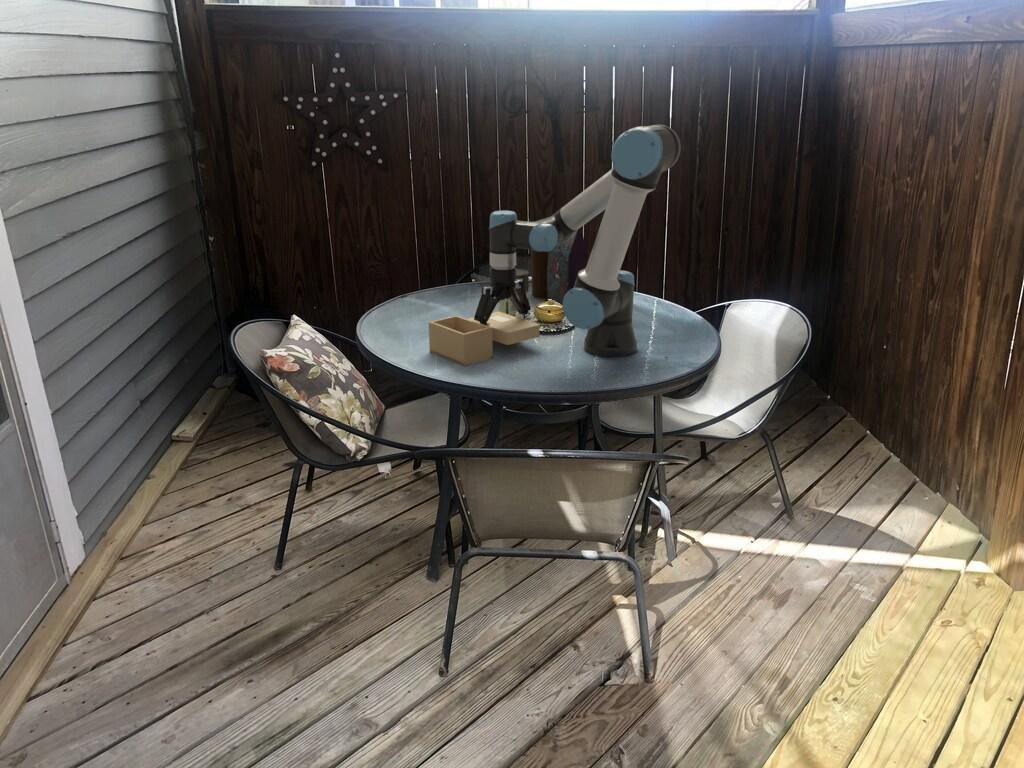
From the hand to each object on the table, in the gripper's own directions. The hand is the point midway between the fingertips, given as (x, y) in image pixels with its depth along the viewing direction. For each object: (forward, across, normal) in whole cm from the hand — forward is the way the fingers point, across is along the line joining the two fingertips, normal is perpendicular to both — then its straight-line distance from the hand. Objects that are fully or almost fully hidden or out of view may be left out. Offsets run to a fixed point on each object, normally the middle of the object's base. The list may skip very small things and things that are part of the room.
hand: (502, 339), depth 245 cm
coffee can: (+2, -24, -23) cm, 33 cm away
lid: (-2, 0, 0) cm, 2 cm away
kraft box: (+2, +15, -1) cm, 15 cm away
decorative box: (+2, -45, -19) cm, 49 cm away
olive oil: (+2, -49, -34) cm, 60 cm away
